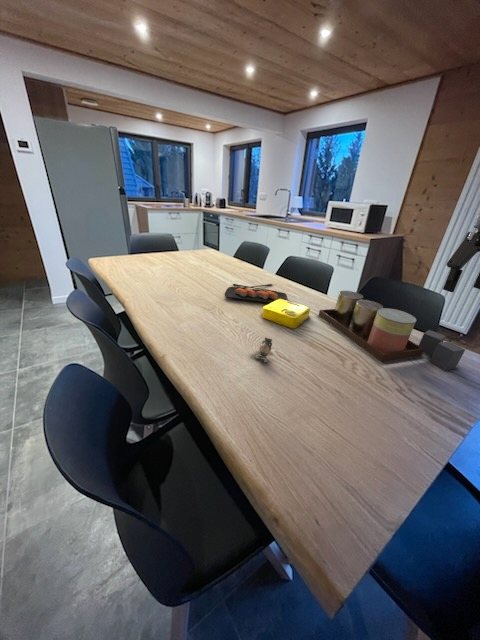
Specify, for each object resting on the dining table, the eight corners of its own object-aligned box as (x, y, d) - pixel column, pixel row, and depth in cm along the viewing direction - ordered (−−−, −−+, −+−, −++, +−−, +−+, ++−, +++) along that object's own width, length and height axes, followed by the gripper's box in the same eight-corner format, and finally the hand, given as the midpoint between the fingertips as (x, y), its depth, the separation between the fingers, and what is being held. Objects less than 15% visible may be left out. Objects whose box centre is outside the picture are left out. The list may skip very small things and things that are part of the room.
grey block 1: (437, 353, 90) (446, 335, 87) (432, 358, 87) (441, 339, 84) (421, 347, 94) (429, 329, 91) (416, 351, 91) (423, 333, 88)
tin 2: (379, 335, 97) (389, 308, 92) (359, 338, 94) (368, 310, 90) (362, 324, 105) (370, 299, 100) (343, 326, 102) (351, 300, 97)
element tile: (309, 317, 109) (312, 306, 107) (294, 329, 98) (296, 318, 96) (278, 307, 117) (279, 296, 115) (260, 317, 106) (261, 306, 104)
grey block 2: (455, 368, 83) (465, 349, 80) (444, 370, 81) (454, 351, 78) (440, 359, 87) (449, 341, 84) (429, 361, 85) (438, 342, 82)
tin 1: (360, 323, 106) (368, 298, 101) (342, 325, 103) (349, 299, 98) (345, 314, 113) (352, 290, 109) (328, 315, 110) (334, 290, 106)
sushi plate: (222, 299, 120) (223, 291, 118) (233, 280, 146) (233, 274, 145) (287, 307, 117) (288, 299, 115) (285, 286, 144) (286, 280, 142)
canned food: (409, 350, 89) (422, 318, 84) (393, 360, 83) (407, 326, 78) (377, 335, 97) (387, 305, 92) (360, 343, 91) (370, 312, 85)
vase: (262, 350, 84) (264, 333, 81) (276, 357, 81) (279, 340, 78) (251, 356, 80) (253, 339, 77) (266, 364, 77) (269, 346, 74)
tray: (420, 357, 87) (424, 349, 86) (380, 364, 82) (383, 355, 80) (351, 314, 116) (353, 307, 114) (318, 316, 110) (319, 309, 109)
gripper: (509, 214, 78) (477, 284, 87) (450, 211, 70) (422, 287, 79) (542, 217, 71) (504, 291, 80) (482, 213, 63) (447, 296, 72)
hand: (463, 289), depth 79 cm, fingers open, 13 cm apart
